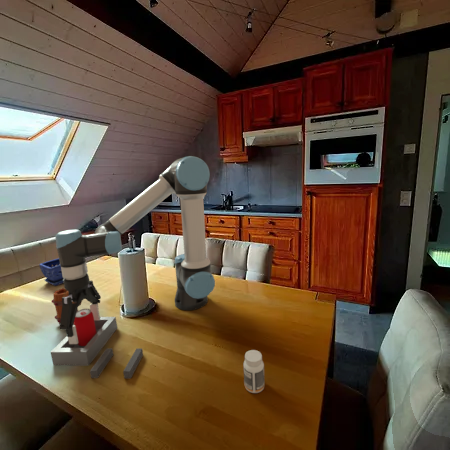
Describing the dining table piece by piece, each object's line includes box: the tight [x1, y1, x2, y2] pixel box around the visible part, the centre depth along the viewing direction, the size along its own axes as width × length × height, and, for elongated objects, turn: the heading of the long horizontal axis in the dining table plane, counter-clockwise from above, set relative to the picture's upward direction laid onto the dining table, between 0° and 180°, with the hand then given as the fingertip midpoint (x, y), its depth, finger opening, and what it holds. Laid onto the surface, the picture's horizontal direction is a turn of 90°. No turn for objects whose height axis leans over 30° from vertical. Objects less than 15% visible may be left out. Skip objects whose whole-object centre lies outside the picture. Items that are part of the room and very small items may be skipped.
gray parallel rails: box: [89, 347, 144, 379], centre depth 84 cm, size 12×10×2 cm
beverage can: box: [73, 308, 96, 347], centre depth 93 cm, size 6×6×12 cm
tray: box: [50, 316, 118, 367], centre depth 94 cm, size 12×20×5 cm, turn 176°
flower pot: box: [39, 257, 64, 287], centre depth 151 cm, size 13×13×12 cm
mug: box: [50, 287, 82, 325], centre depth 111 cm, size 15×8×15 cm, turn 168°
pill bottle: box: [242, 349, 265, 394], centre depth 73 cm, size 6×6×10 cm
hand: (85, 330), depth 93 cm, fingers open, 13 cm apart
